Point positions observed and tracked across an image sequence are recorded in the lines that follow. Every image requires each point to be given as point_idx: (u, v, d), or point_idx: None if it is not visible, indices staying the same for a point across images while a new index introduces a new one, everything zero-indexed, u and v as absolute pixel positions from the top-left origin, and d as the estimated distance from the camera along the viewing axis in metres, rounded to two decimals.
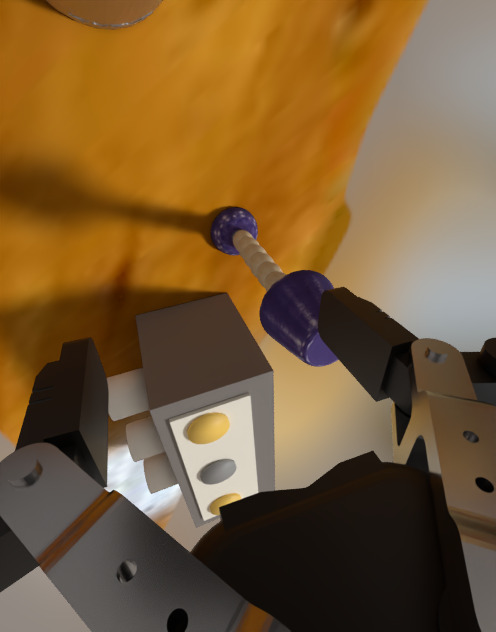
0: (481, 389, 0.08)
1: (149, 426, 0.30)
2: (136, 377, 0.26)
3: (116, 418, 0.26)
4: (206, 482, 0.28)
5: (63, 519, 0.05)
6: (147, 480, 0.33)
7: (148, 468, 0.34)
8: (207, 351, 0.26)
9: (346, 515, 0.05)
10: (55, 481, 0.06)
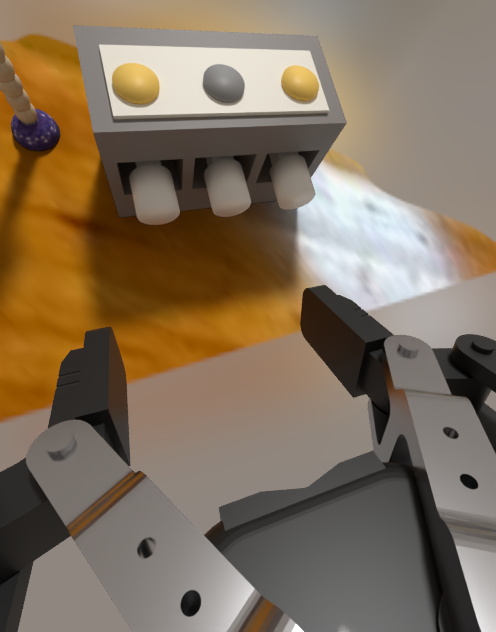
0: (451, 384, 0.08)
1: (207, 185, 0.29)
2: (131, 187, 0.27)
3: (163, 199, 0.26)
4: (236, 94, 0.25)
5: (93, 492, 0.06)
6: (288, 192, 0.29)
7: (279, 195, 0.30)
8: None
9: (346, 515, 0.05)
10: (88, 456, 0.06)
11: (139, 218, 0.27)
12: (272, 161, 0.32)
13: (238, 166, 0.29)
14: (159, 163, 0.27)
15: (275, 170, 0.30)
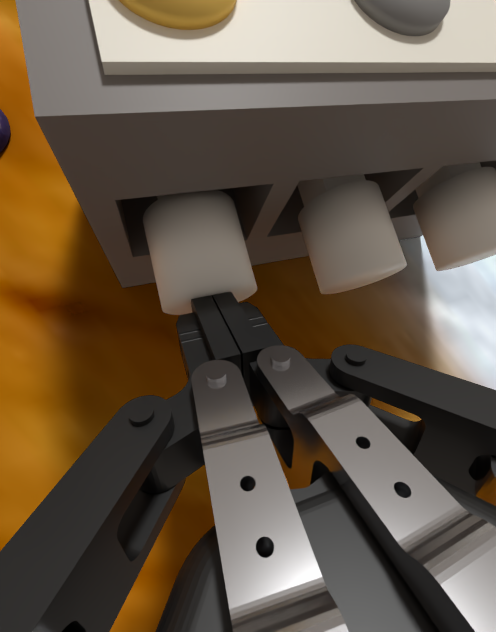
0: None
1: (313, 237, 0.13)
2: (147, 240, 0.12)
3: (230, 274, 0.11)
4: (435, 14, 0.09)
5: (225, 422, 0.07)
6: (479, 246, 0.14)
7: (450, 251, 0.15)
8: None
9: (346, 515, 0.05)
10: (230, 394, 0.07)
11: (167, 311, 0.12)
12: None
13: (380, 195, 0.13)
14: None
15: (440, 199, 0.15)
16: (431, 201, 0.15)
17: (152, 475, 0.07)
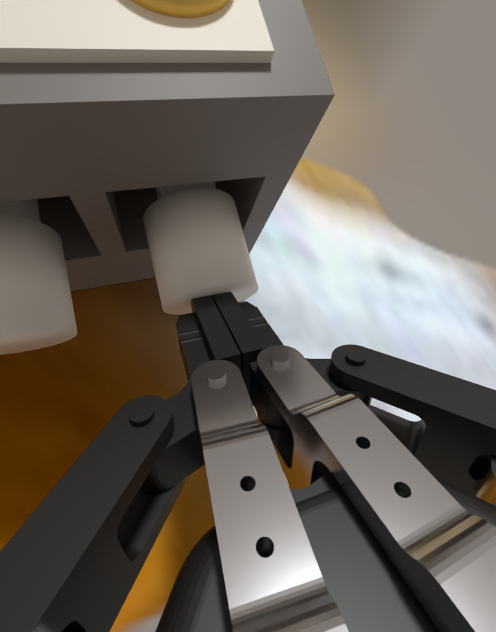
0: None
1: None
2: None
3: None
4: None
5: (225, 422, 0.07)
6: (176, 294, 0.11)
7: (160, 296, 0.11)
8: None
9: (346, 515, 0.05)
10: (230, 394, 0.07)
11: None
12: (158, 199, 0.13)
13: (20, 231, 0.10)
14: None
15: (149, 228, 0.11)
16: (146, 230, 0.12)
17: (152, 475, 0.07)
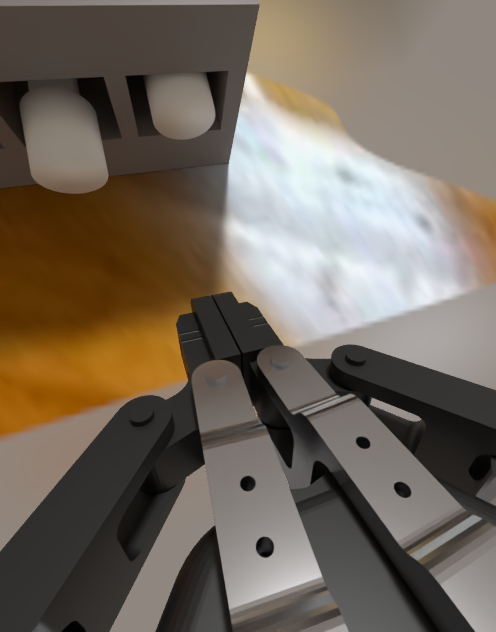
0: None
1: None
2: None
3: None
4: None
5: (225, 422, 0.07)
6: (159, 100, 0.17)
7: (151, 110, 0.18)
8: None
9: (346, 515, 0.05)
10: (230, 394, 0.07)
11: None
12: None
13: (74, 101, 0.16)
14: None
15: None
16: None
17: (152, 475, 0.07)
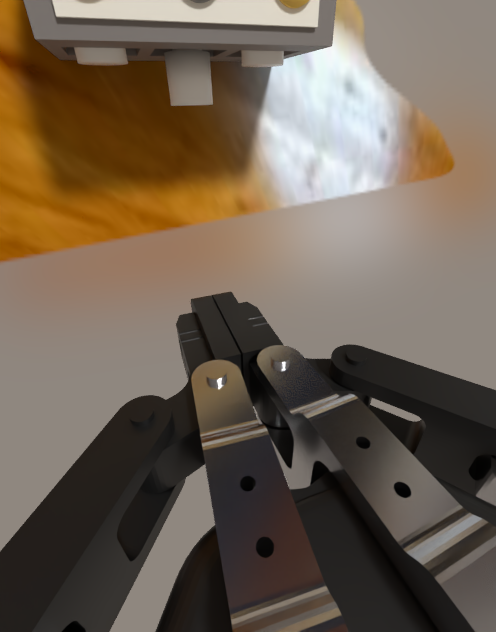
0: None
1: (167, 74, 0.26)
2: None
3: (109, 55, 0.23)
4: None
5: (225, 422, 0.07)
6: (253, 62, 0.27)
7: (243, 58, 0.27)
8: None
9: (346, 515, 0.05)
10: (230, 394, 0.07)
11: (80, 63, 0.24)
12: None
13: (204, 59, 0.25)
14: None
15: None
16: None
17: (152, 475, 0.07)
